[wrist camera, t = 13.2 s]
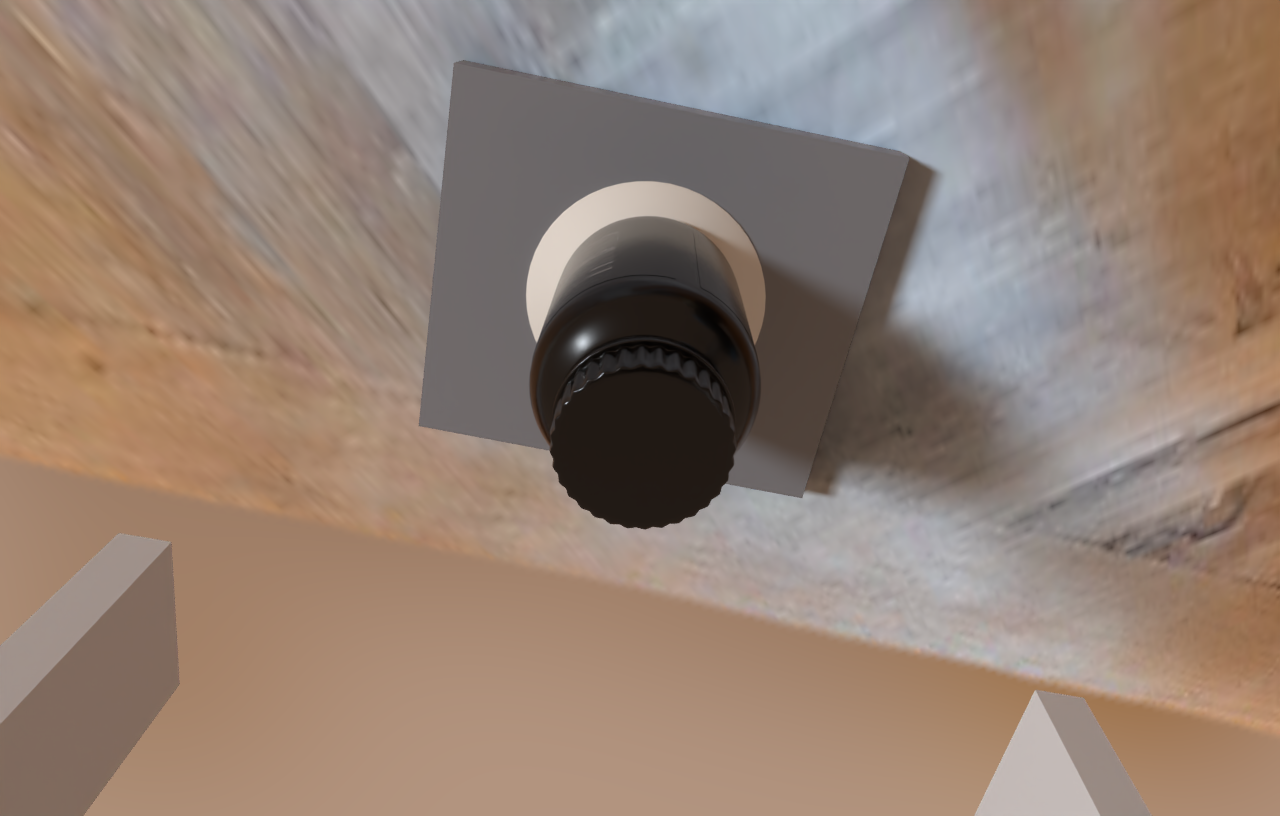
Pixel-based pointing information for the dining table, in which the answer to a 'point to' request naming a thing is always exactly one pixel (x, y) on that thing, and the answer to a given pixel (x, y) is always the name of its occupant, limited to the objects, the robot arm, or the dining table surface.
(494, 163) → the board
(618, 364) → the supplement bottle
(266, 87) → the dining table surface
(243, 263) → the dining table surface
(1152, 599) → the dining table surface
